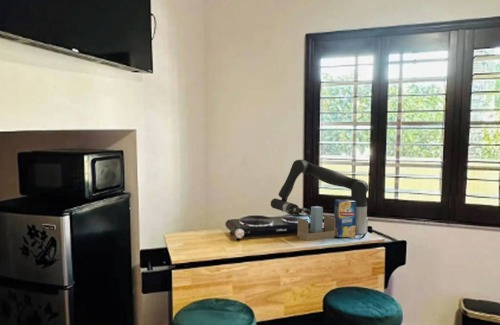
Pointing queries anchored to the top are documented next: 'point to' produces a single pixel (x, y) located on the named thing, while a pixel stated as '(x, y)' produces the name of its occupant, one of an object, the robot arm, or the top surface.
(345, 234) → the blue food box
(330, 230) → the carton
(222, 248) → the top surface
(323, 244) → the top surface
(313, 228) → the slate box
